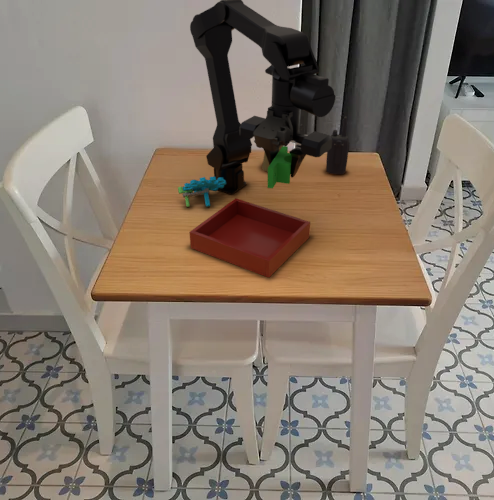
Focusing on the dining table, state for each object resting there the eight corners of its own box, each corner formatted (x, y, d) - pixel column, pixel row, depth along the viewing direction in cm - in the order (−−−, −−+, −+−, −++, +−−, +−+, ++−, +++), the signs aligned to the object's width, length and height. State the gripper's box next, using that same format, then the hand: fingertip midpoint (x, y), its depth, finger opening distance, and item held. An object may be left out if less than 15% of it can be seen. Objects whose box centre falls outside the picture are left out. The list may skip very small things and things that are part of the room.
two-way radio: (346, 170, 143) (352, 114, 134) (346, 178, 139) (352, 121, 131) (325, 168, 143) (329, 113, 135) (324, 176, 139) (329, 120, 131)
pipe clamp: (285, 191, 111) (285, 170, 108) (267, 188, 112) (267, 167, 109) (298, 167, 119) (299, 147, 117) (282, 164, 120) (282, 145, 118)
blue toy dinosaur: (226, 184, 131) (224, 170, 121) (230, 207, 130) (228, 196, 120) (180, 192, 131) (174, 179, 121) (184, 215, 130) (178, 204, 120)
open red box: (190, 248, 112) (189, 231, 109) (236, 213, 123) (235, 198, 121) (268, 277, 104) (269, 260, 102) (309, 237, 116) (310, 221, 114)
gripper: (222, 103, 104) (224, 176, 113) (308, 124, 96) (302, 202, 105) (254, 87, 112) (254, 157, 121) (336, 106, 104) (329, 180, 113)
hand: (283, 173), depth 115 cm, fingers closed on pipe clamp, 4 cm apart
